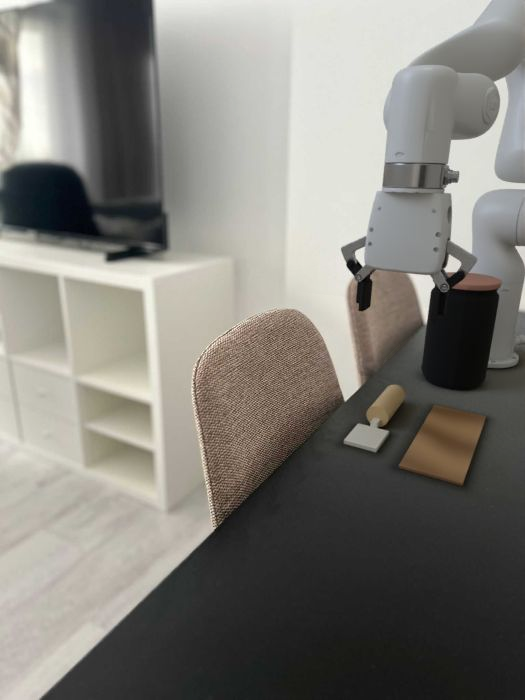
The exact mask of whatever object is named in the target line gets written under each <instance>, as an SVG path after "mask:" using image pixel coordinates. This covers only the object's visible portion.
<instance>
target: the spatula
mask: <svg viewBox="0 0 525 700" xmlns="http://www.w3.org/2000/svg"><path fill="white" fill-rule="evenodd" d="M405 399H406V392H405V390H404V388H403V387H402V386H401V385H398V384H390V385H388V386H387V387H386V388H385V389H384V390H383V391H382V393H381V394H380V395H379V396H377V398H376V400H374V402H373V403H372V404H371V405H370V406H369V408H368V409H367V411H366V415H365V416H366V419H367V421H368V423H369V424H370V425H368V424H367V425H366V424H362V423H357V424H356V425H355V426H354V428H352V430H351V431H350V432H349V433H348V435H347V436H346V437H345V438H344V439H343V444H344V445H347V446H351V447H355V448H358V449H361V450H365V451H369V452H372V453H377V452H378V450H380V448H381V446H382V445H383V444H384V443H385V441H386V440H387V438H388V437H389V436H390V431H389V430H387V429H383V428H381V427H385V426H386V425H387V424H388V423H389V421H390V420H391V418H392V417H393V416H394V415H395V413H396V412H397V410H398V409H399V408H400V406H401V405H402V403H403V402H404V401H405Z"/></svg>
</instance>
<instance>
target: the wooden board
mask: <svg viewBox="0 0 525 700" xmlns="http://www.w3.org/2000/svg"><path fill="white" fill-rule="evenodd" d="M486 419H487V416H486V415H483V414H478V413H473V412H469V411H464V410H459V409H455V408H450V407H445V406H441V405H437V404H434V405H433V407H432V408H431V410H430V412H429V413H428V415H427V416H426V418H425V420H424V422H423V423H422V425H421V426H420V429H419V430H418V432H417V433H416V435H415V437H414V438H413V441H412V442H411V444H410V445H409V448H408V449H407V451H406V452H405V453H404V456H403V458H402V459H401V461H400V462H399V464H398V469H399V470H400V469H401V470H405V471H407V472H411V473H415V474H418V475H422V476H426V477H428V478H432V479H436V480H440V481H443V482H446V483H450V484H453V485H456V486H457V485H458V486H461V487H463V486H464V482H465V480H466V477H467V475H468V471H469V469H470V466H471V463H472V460H473V458H474V454H475V452H476V449H477V446H478V442H479V439H480V437H481V435H482V431H483V428H484V425H485V423H486Z"/></svg>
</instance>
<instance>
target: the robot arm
mask: <svg viewBox="0 0 525 700" xmlns="http://www.w3.org/2000/svg"><path fill="white" fill-rule="evenodd" d="M504 78H505V79H504ZM501 79H504V80H505V82H506V89H507V94H508V96H507V97H508V99H507V100H508V101H507V105H506V106H507V107H506V110H505V111H506V112H505V115H504V120H503V124H502V128H501V132H500V137H499V139H498V144H497V148H496V153H495V159H494V165H493V166H494V167H493V168H494V169H493V170H494V174H495V176H496V177H497V178H498V179H499V180H501V181H503V182H506V183H513V184H525V0H491V1H490V2H489V3H488V4H487V6H486V8H485V9H484V10H483V11H482V12H481V14H480V15H479V16H478V18H477V19H476V20H475V22H474V23H473V24H472V25H470V26H468V27H466V28H464V29H462V30H461V31H459V32H457V33H455V34H453V35H452V36H450V37H448V38H447V39H445V40H444V41H442V42H440V43H438V44H436V45H435V46H433V47H431V48H429V49H427V50H426V51H424V52H423V53H420V55H418V56H416V57H415V58H414V59H413V60H412V61H411V62H410V63H409V64H408V65H407V66H406V67H404V68H402V69H400V70H399V71H398V72H396V73H395V75H394V77H393V79H392V82H391V87H390V89H389V91H388V93H387V95H386V97H385V101H384V104H383V112H382V116H383V117H382V118H383V125H384V128H385V130H386V143H385V152H384V153H385V154H384V164H383V173H382V183H381V184H382V185H381V190H377V191H376V193H375V196H374V199H373V203H372V207H371V210H370V215H369V221H368V225H367V231H366V235H364V236H362V237H360V238H358V239H355V240H354V241H350V242H349V243H347V244H343V245H342V246H341V247H340V251H341V254H342V257H343V260H344V261H345V266H346V268H347V270H348V271H349V272H350V273H351V275H353V278H354V280H355V282H357V283H356V294H355V296H356V297H355V303H356V304H358V311H359V312H361V313H362V312H365V311H366V310H368V309H369V308H371V304H372V293H373V280H372V279H371V276H372V275H373V274H374V273H375V272H376V271H383V272H393V273H401V274H411V275H421V276H430V277H431V279H432V281H433V280H434V282H435V283H436V285H437V286H438V288H437V290H436V291H435V292H434V298H433V305H432V313H431V321H432V322H437V321H438V320H439V319H440V317H441V315H445V314H446V309H447V302H448V295H449V290H450V289H451V288H452V287H454V286H455V285H456V284H458V283H459V282H461V281H462V280H463V279H464V278H465V277H466V276H467V274H468V273H476V274H482V275H488V276H492V277H495V278H498V279H500V280H501V281H502V284H501V287H500V288H499V289H498V290H497V293H498V294H499V303H498V309H497V315H496V321H495V326H494V332H493V338H492V344H491V350H490V356H489V362H488V368H487V369H508V368H511V367H515V366H516V365H517V364H519V360H520V359H519V358H520V357H519V354H517V352H515V351H514V350H515V348H516V347H517V346H523V345H525V334H520V335H515V333H516V327H517V321H518V316H519V312H520V311H519V310H520V304H521V299H522V294H523V289H524V283H525V263H524V260H523V258H522V256H521V255H520V253H519V251H518V250H517V249H518V248H517V247H525V189H522V188H502V189H501V188H500V189H493V190H489V191H487V192H485V193H483V194H482V195H480V196H479V197H478V198H477V200H476V201H475V203H474V205H473V208H472V214H471V235H472V237H471V238H472V241H471V242H472V243H471V252H469V251H467V250H466V249H465V248H463V247H461V246H459V245H458V244H456V243H455V242H453V241H452V240H451V238H452V225H453V224H452V223H453V201H452V199H453V197H452V192H445V191H446V189H447V186H449V185H450V184H457V183H459V180H460V171H459V170H454V169H451V168H450V165H449V160H450V152H451V144H452V143H451V142H452V141H462V140H463V141H464V140H472V139H475V138H479V137H481V136H483V135H484V134H486V133H487V132H488V131H489V130H490V129H491V128H492V127H493V125H494V124H495V122H496V120H497V118H498V115H499V112H500V108H501V95H500V91H499V88H498V86H497V85H496V83H495V82H497V81H499V80H501ZM362 248H364V253H363V256H364V257H363V258H364V259H363V261H364V265H362V263H360V261H359V260H358V259H357V257H356V252H357V251H359V250H360V249H362ZM450 256H451V257H453V258H454V259H456V260H457V261H459V262H460V265H459V268H458V269H457V271H455V272H456V273H455V274H453V275H452V276H451V277H449V275H448V274H447V272H448V271H446V268H447V266H448V263H449V258H450ZM434 282H433V283H434Z"/></svg>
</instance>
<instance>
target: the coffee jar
mask: <svg viewBox="0 0 525 700" xmlns="http://www.w3.org/2000/svg"><path fill="white" fill-rule="evenodd" d="M446 272H447V274H448V275H449V277H451V276H452V275H453V274H455V273H456V272H457V271H446ZM432 282H433V284H434V287H433V288H432V289H431V291H430V296H429V302H428V303H429V304H428V312H427V319H426V328H425V335H424V344H423V351H422V361H421V366H420V367H421V368H420V369H421V372H422V375H423V376H424V379H425V380H426V381H427V382H428V383H430V384H432V385H434V386H437V387H440V388H443V389H449V390H454V391H470V390H474V389H478V388H479V387H480V386H481V385H482V384H483V383H484V382H485V381H486V378H487V373H488V369H489V368H488V362H489V356H490V350H491V344H492V338H493V332H494V326H495V321H496V315H497V309H498V303H499V294H498V293H497V290H498V289H499V288H500V287H501V284H502V281H501V280H500V279H498V278H495V277H492V276H488V275H482V274H476V273H468V274H467V276H466V277H465V278H464V279H463V280H462V281H461V282H459V283H458V284H456V285H455V286H454V287H452V288H451V289H450V290H449V295H448V302H447V309H446V314H445V315H441V317H440V319H439V320H438V321H437V322H432V321H431V313H432V305H433V298H434V292H435V291H436V290H437V288H438V286H437V285H436V283H435V282H434V280H433V279H432Z"/></svg>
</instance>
